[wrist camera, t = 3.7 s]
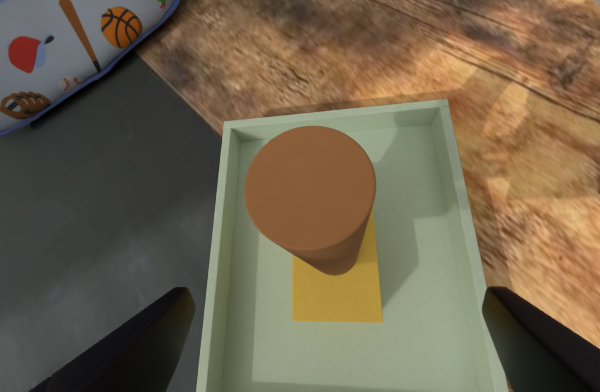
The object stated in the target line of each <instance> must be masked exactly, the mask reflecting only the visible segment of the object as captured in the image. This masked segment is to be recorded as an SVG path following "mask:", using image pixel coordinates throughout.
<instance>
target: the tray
mask: <svg viewBox="0 0 600 392" xmlns="http://www.w3.org/2000/svg"><path fill="white" fill-rule="evenodd" d="M303 126H324V127H329V128H332V129H336V130H338V131H341V132H343V133H345V134H346V135H348V136H350V137H351V138H352V139H354V140H355V141H356V142H357V143H358V144H359V145H360V146H361V147H362V148H363V149H364V150H365V152H366V153H367V155H368V156H369V158H370V160H371V162H372V165H373V168H374V171H375V177H376V194H375V199H374V203H373V214H374V225H375V236H376V247H377V259H378V270H379V281H380V292H381V303H382V314H383V323H365V322H311V321H292V254H291V253H290V252H288V251H287V250H285V249H283V248H282V247H280V246H279V245H277V244H275V243H274V242H272V241H271V240H269V239H268V238H266V237H265V236H264V235H263V234H262V233H261V232H260V231H259V230H258V229H257V228H256V226H255V225H254V223H253V222H252V220H251V219H250V216H249V214H248V212H247V208H246V205H245V198H244V185H245V178H246V175H247V171H248V169H249V166H250V164H251V162H252V161H253V159H254V157H255V156H256V154H257V153H258V152H259V150H260V149H261V148H262V147H263V146H264V145H265V144H266V143H268V142H269V141H270V140H271V139H273V138H274V137H276V136H277V135H279V134H281V133H283V132H285V131H288V130H290V129H294V128H298V127H303ZM486 289H487V285H486V281H485V276H484V271H483V266H482V262H481V257H480V252H479V247H478V242H477V238H476V233H475V228H474V223H473V219H472V214H471V209H470V204H469V200H468V195H467V190H466V185H465V181H464V176H463V171H462V166H461V162H460V157H459V152H458V147H457V142H456V138H455V133H454V128H453V123H452V119H451V114H450V109H449V104H448V99H439V100H429V101H419V102H410V103H400V104H390V105H380V106H371V107H361V108H351V109H341V110H332V111H322V112H312V113H302V114H293V115H283V116H273V117H263V118H254V119H244V120H234V121H225V122H224V129H223V138H222V148H221V158H220V167H219V177H218V187H217V196H216V206H215V215H214V225H213V235H212V244H211V254H210V264H209V273H208V283H207V293H206V302H205V312H204V321H203V331H202V341H201V350H200V360H199V370H198V379H197V389H196V392H509V390H508V385H507V381H506V376H505V372H504V370H503V367H502V365H501V362H500V360H499V357H498V354H497V352H496V349H495V347H494V344H493V341H492V339H491V336H490V333H489V331H488V328H487V325H486V323H485V320H484V318H483V314H482V304H483V300H484V296H485V292H486Z"/></svg>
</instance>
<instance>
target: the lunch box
mask: <svg viewBox="0 0 600 392" xmlns="http://www.w3.org/2000/svg"><path fill="white" fill-rule="evenodd" d="M179 2H180V0H0V137H1V136H4V135H7V134H10V133H12V132H15V131H17V130H19V129H21V128H22V127H24V126H26V125H27V124H29V123H30V122H32V121H34V120H36V119H37V118H39V117H40V116H41V115H43V114H44V113H45V112H47V111H48V110H50V109H51V108H53V107H54V106H56V105H57V104H59V103H60V102H62V101H63V100H65V99H66V98H68V97H69V96H71V95H72V94H74V93H75V92H77V91H78V90H80V89H81V88H83V87H85V86H86V85H88V84H89V83H91V82H92V81H94V80H98V79H99V78H101V77H102V76H104V75H105V74H107V73H108V72H109V71H110V70H111V69H112V68H113V66H114V65H115V64H116V63H117V62H118V61H119V60H120V59H121V58H122V57H123V56H124V55H125V54H127V53H128V52H129V51H130V50H131V49H132V48H133V47H134V46H136V45H137V44H138V43H139V42H141V41H142V40H143V39H144V38H146V37H147V36H148V35H149V34H151V33H152V32H153V31H154V30H156V29H157V28H158V27H159V26H160V25H162V24H163V23H164V22H165V21H166V20H167V19H168V18H169V17H170V16H171V15H172V14H173V12H174V11H175V10H176V8H177V7H178V5H179Z"/></svg>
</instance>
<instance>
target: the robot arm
mask: <svg viewBox="0 0 600 392" xmlns="http://www.w3.org/2000/svg"><path fill="white" fill-rule="evenodd" d="M195 310H196V306H195V302H194V300H193V297H192V295H191V292H190V290H189V289H188V288H187V287H175V288H173V289H172V290H170V291H169V292H168V293H166V294H165V295H163V296H162V297H161V298H159V299H158V300H156V301H155V302H154V303H152V304H151V305H149V306H148V307H147V308H145V309H144V310H142V311H141V312H140V313H138V314H137V315H135V316H134V317H133V318H131V319H130V320H128V321H127V322H126V323H124V324H123V325H121V326H120V327H119V328H117V329H116V330H114V331H113V332H112V333H110V334H109V335H107V336H106V337H105V338H103V339H102V340H100V341H99V342H97V343H96V344H95V345H93V346H92V347H90V348H89V349H88V350H86V351H85V352H83V353H82V354H81V355H79V356H78V357H76V358H75V359H74V360H72V361H71V362H69V363H68V364H67V365H65V366H64V367H62V368H61V369H60V370H58V371H57V372H55V373H54V374H53V375H52V377H48V378H47V379H45V380H44V381H43V382H41V383H40V384H39V385H37V386H36V387H34V388H33V389H31V390H30V391H29V392H166V390H167V388H168V385H169V383H170V381H171V378H172V376H173V374H174V371H175V369H176V367H177V364H178V362H179V359H180V357H181V354H182V351H183V348H184V345H185V342H186V339H187V336H188V332H189V329H190V326H191V323H192V320H193V317H194V314H195ZM482 314H483V318H484V320H485V323H486V325H487V328H488V331H489V333H490V336H491V339H492V341H493V344H494V347H495V349H496V352H497V354H498V357H499V360H500V362H501V365H502V367H503V370H504V372H505V374H506V377H507V379H508V381H509V383H510V385H511V387H512V389H513V391H514V392H600V349H599V348H597V347H596V346H594V345H593V344H591V343H590V342H588V341H587V340H585V339H584V338H582V337H581V336H579V335H578V334H576V333H575V332H573V331H572V330H570V329H569V328H567V327H566V326H564V325H563V324H561V323H559V322H558V321H556V320H555V319H553V318H552V317H550V316H549V315H547V314H546V313H544V312H543V311H541V310H540V309H538V308H537V307H535V306H534V305H532V304H531V303H529V302H528V301H526V300H525V299H523V298H522V297H520V296H519V295H517V294H516V293H514V292H513V291H511V290H509V289H508V288H506V287H503V286H490V287H488V288H487V289H486V292H485V296H484V300H483V304H482Z"/></svg>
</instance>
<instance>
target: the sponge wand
mask: <svg viewBox="0 0 600 392" xmlns="http://www.w3.org/2000/svg"><path fill="white" fill-rule="evenodd" d="M375 194H376V177H375V171H374V168H373V165H372V162H371V160H370V158H369V156H368V155H367V153H366V152H365V150H364V149H363V148H362V147H361V146H360V145H359V144H358V143H357V142H356V141H355V140H354V139H352V138H351V137H350V136H348V135H346V134H345V133H343V132H341V131H338V130H336V129H332V128H329V127H324V126H303V127H298V128H294V129H290V130H288V131H285V132H283V133H281V134H279V135H277V136H276V137H274V138H273V139H271V140H270V141H269V142H268V143H266V144H265V145H264V146H263V147H262V148H261V149H260V150H259V152H258V153H257V154H256V156H255V157H254V159H253V161H252V162H251V164H250V166H249V169H248V171H247V175H246V178H245V185H244V198H245V205H246V208H247V212H248V214H249V216H250V219H251V220H252V222H253V223H254V225H255V226H256V228H257V229H258V230H259V231H260V232H261V233H262V234H263V235H264V236H265V237H266V238H268V239H269V240H271V241H272V242H274V243H275V244H277V245H279V246H280V247H282V248H283V249H285V250H287V251H288V252H290V253H291V254H292V321H311V322H365V323H383V314H382V303H381V292H380V281H379V270H378V259H377V247H376V236H375V225H374V214H373V203H374V199H375Z"/></svg>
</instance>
